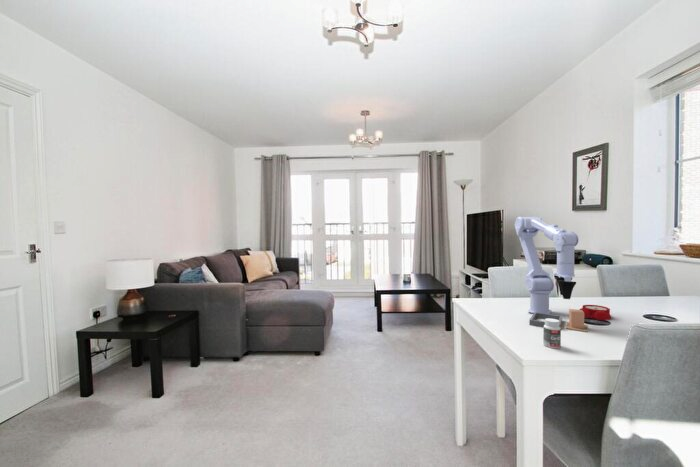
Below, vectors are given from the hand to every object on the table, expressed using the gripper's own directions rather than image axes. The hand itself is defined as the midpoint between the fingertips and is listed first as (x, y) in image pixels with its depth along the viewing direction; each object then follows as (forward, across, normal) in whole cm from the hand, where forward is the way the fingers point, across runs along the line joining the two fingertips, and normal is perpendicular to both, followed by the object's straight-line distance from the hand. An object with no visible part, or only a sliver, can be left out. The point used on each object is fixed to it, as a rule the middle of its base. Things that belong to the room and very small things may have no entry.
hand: (565, 296), depth 127 cm
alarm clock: (+11, -15, +12) cm, 22 cm away
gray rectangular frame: (+10, +3, -7) cm, 13 cm away
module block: (+10, +5, +3) cm, 11 cm away
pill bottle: (+11, +30, -7) cm, 33 cm away
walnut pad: (+10, +5, +3) cm, 12 cm away
